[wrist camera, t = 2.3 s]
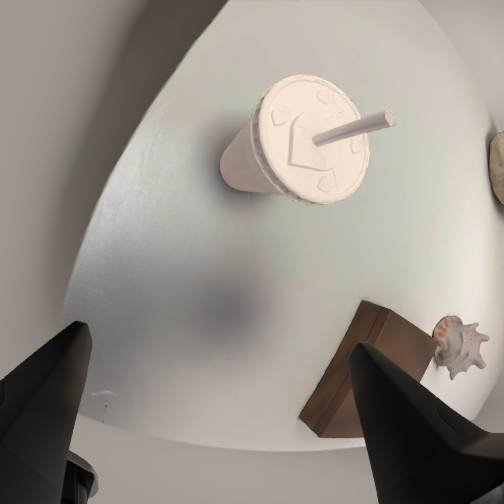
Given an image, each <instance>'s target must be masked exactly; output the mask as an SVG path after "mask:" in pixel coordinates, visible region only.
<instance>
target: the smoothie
mask: <svg viewBox="0 0 504 504" xmlns="http://www.w3.org/2000/svg"><path fill="white" fill-rule="evenodd" d="M395 123H396V120H395V116H394V114H393V113H392V112H391V111H389V110H387V111H384V112H381V113H378V114H374V115H371V116H368V117H365V118H362V117H361V115H360V114H359V112H358V110H357V108H356V107H355V105H354V104H353V103H352V101H351V100H350V99H349V98H348V97H347V96H346V95H345V94H344V93H343V92H342V91H341V90H340V89H339V88H337V87H336V86H335V85H333V84H331V83H330V82H328V81H326V80H324V79H321V78H318V77H315V76H310V75H295V76H291V77H288V78H285V79H283V80H281V81H280V82H278V83H277V84H275V85H272V86H271V87H270V88H269V89H268V90H266V91H265V92H264V93H263V94H262V95H261V96H260V98H259V100H258V101H257V103H256V105H255V106H254V108H253V112H252V116H251V118H250V120H249V121H248V122H247V123H246V124H245V126H244V127H243V128H242V129H241V131H240V132H239V133H238V134H237V136H236V137H235V138H234V140H233V141H232V142H231V143H230V145H229V146H228V147H227V149H226V150H225V151H224V153H223V154H222V156H221V159H220V172H221V175H222V177H223V179H224V180H225V182H226V183H227V184H228V185H229V186H230V187H232V188H234V189H236V190H240V191H249V192H258V193H267V194H276V195H284V196H287V197H288V198H290V199H291V200H293V201H296V202H300V203H303V204H306V205H324V204H331V203H336V202H340V201H342V200H344V199H346V198H348V197H349V196H351V195H352V194H353V193H354V192H355V191H356V190H357V189H358V187H359V186H360V185H361V183H362V181H363V179H364V177H365V175H366V172H367V168H368V163H369V152H370V151H369V140H368V135H367V133H368V132H372V131H376V130H379V129H383V128H387V127H391V126H394V125H395Z"/></svg>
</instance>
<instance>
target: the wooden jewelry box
mask: <svg viewBox="0 0 504 504" xmlns="http://www.w3.org/2000/svg"><path fill="white" fill-rule="evenodd" d="M364 341H367V342H369V343H371V344H372V345H373V346H374V347H376V348H377V349H378V350H379V351H381V352H382V353H383V354H384V355H386V356H387V357H388V358H389V359H391V360H392V361H393V362H394V363H396V364H397V365H398V366H399V367H400V368H402V369H403V370H404V371H405V372H407V373H408V374H409V375H410V376H412V377H413V378H414V379H415V380H417V381H418V382H419V383H420V381H421V379H422V377H423V375H424V373H425V371H426V369H427V367H428V365H429V363H430V361H431V359H432V357H433V355H434V353H435V350H436V348H437V346H438V344H439V342H438V341H437V340H435V339H434V338H432V337H431V336H430V335H428V334H427V333H425V332H424V331H422V330H421V329H419V328H418V327H416V326H415V325H413V324H412V323H410V322H409V321H407V320H406V319H404V318H403V317H401V316H400V315H398V314H397V313H395V312H394V311H392V310H391V309H388V308H385V307H382V306H379V305H376V304H373V303H370V302H368V301H365V300H362V302H361V305H360V307H359V309H358V311H357V313H356V315H355V317H354V319H353V321H352V323H351V325H350V327H349V329H348V331H347V333H346V335H345V337H344V339H343V341H342V343H341V345H340V347H339V349H338V351H337V353H336V354H335V356H334V358H333V360H332V362H331V364H330V365H329V367H328V369H327V371H326V372H325V374H324V376H323V378H322V379H321V381H320V383H319V385H318V386H317V388H316V390H315V391H314V393H313V395H312V396H311V398H310V400H309V401H308V403H307V404H306V406H305V408H304V409H303V411H302V412H301V414H300V415H299V418H300V419H301V420H302V421H303V422H304V423H305V424H306V425H307V426H308V427H309V428H310V429H311V430H312V431H313V432H314V433H315V434H316V435H317V436H318V437H319V438H362V437H364V435H363V431H362V428H361V424H360V420H359V416H358V412H357V409H356V405H355V401H354V396H353V391H352V385H351V379H350V373H349V367H348V357H349V355H350V354H351V352H352V350H353V348H354V346H355V345H356V343H357V342H364Z"/></svg>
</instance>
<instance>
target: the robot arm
mask: <svg viewBox="0 0 504 504" xmlns="http://www.w3.org/2000/svg"><path fill="white" fill-rule="evenodd" d="M91 350H92V338H91V334H90V330H89V327H88V324H87V323H86V322H81V321H74V322H73V323H71V324H70V325H69V326H68V327H66V328H65V329H64V330H62V331H61V332H60V333H58V334H57V335H56V336H55V337H53V338H52V339H51V340H49V341H48V342H47V343H46V344H44V345H43V346H42V347H41V348H39V349H38V350H37V351H36V352H34V353H33V354H32V355H31V356H29V357H28V358H27V359H26V360H25V361H23V362H22V363H21V364H20V365H18V366H17V367H16V368H15V369H14V370H13V371H11V372H10V373H9V374H8V375H6V376H5V377H4V379H2V380H0V504H87V501H88V498H89V495H90V492H91V489H92V485H93V482H94V480H95V475H94V474H93V473H92V472H89V471H86V470H83V469H80V468H77V467H74V466H72V465H69V464H66V462H67V457H68V452H69V446H70V442H71V437H72V433H73V429H74V424H75V420H76V416H77V412H78V408H79V405H80V401H81V397H82V394H83V390H84V386H85V381H86V375H87V370H88V365H89V360H90V355H91ZM348 367H349V373H350V379H351V385H352V391H353V396H354V401H355V405H356V409H357V412H358V416H359V420H360V424H361V428H362V431H363V435H364V439H365V443H366V447H367V451H368V455H369V459H370V464H371V469H372V473H373V477H374V482H375V486H376V491H377V497H378V502H379V504H504V433H490V432H487V431H484V430H482V429H481V428H479V427H478V426H476V425H475V424H473V423H472V422H470V421H469V420H467V419H466V418H464V417H463V416H461V415H460V414H458V413H457V412H456V411H454V410H453V409H451V408H450V407H449V406H448V405H446V404H445V403H444V402H443V401H441V400H440V399H439V398H438V397H436V396H435V395H434V394H433V393H431V392H430V391H429V390H428V389H426V388H425V387H424V386H423V385H421V384H420V383H419V382H418V381H417V380H415V379H414V378H413V377H412V376H410V375H409V374H408V373H407V372H405V371H404V370H403V369H402V368H400V367H399V366H398V365H397V364H396V363H394V362H393V361H392V360H391V359H389V358H388V357H387V356H386V355H384V354H383V353H382V352H381V351H379V350H378V349H377V348H376V347H374V346H373V345H372V344H371V343H369V342H367V341H364V342H357V343H356V345H355V346H354V348H353V350H352V352H351V354H350V355H349V357H348Z"/></svg>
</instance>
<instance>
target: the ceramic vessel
mask: <svg viewBox="0 0 504 504" xmlns="http://www.w3.org/2000/svg"><path fill="white" fill-rule="evenodd" d="M489 170H490V179H491V183H492V188H493V191H494V193H495V195H496V197H497V198H498V200H499V201H500V202H501V203H502V204H503V205H504V131H503V132H499V133H498V134H497V135H496V136H495V137H494V139H493V140H492V141H491V143H490V166H489Z"/></svg>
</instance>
